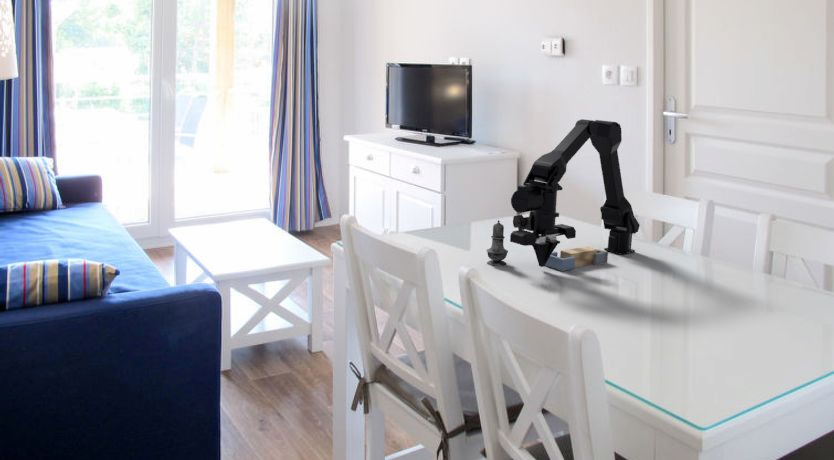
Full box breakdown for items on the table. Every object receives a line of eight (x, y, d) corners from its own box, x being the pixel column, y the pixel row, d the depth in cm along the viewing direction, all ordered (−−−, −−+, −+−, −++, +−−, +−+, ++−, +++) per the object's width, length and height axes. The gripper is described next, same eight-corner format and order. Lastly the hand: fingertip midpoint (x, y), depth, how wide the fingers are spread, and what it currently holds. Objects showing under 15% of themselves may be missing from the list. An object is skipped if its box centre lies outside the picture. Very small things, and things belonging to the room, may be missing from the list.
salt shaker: (506, 267, 236) (508, 223, 233) (484, 265, 237) (486, 221, 234) (508, 261, 241) (510, 218, 239) (487, 260, 242) (489, 217, 240)
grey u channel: (586, 257, 248) (587, 246, 248) (607, 262, 243) (607, 252, 242) (575, 259, 246) (576, 248, 245) (595, 265, 240) (596, 254, 239)
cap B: (554, 262, 241) (555, 251, 240) (574, 268, 235) (575, 257, 234) (542, 264, 238) (543, 253, 238) (562, 270, 233) (563, 259, 232)
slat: (586, 260, 246) (587, 246, 245) (596, 263, 242) (597, 249, 242) (559, 265, 240) (560, 250, 239) (569, 268, 237) (570, 253, 236)
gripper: (548, 199, 241) (545, 255, 245) (497, 206, 230) (494, 264, 234) (578, 206, 233) (575, 264, 236) (526, 214, 222) (523, 274, 225)
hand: (541, 266), depth 233 cm, fingers closed
